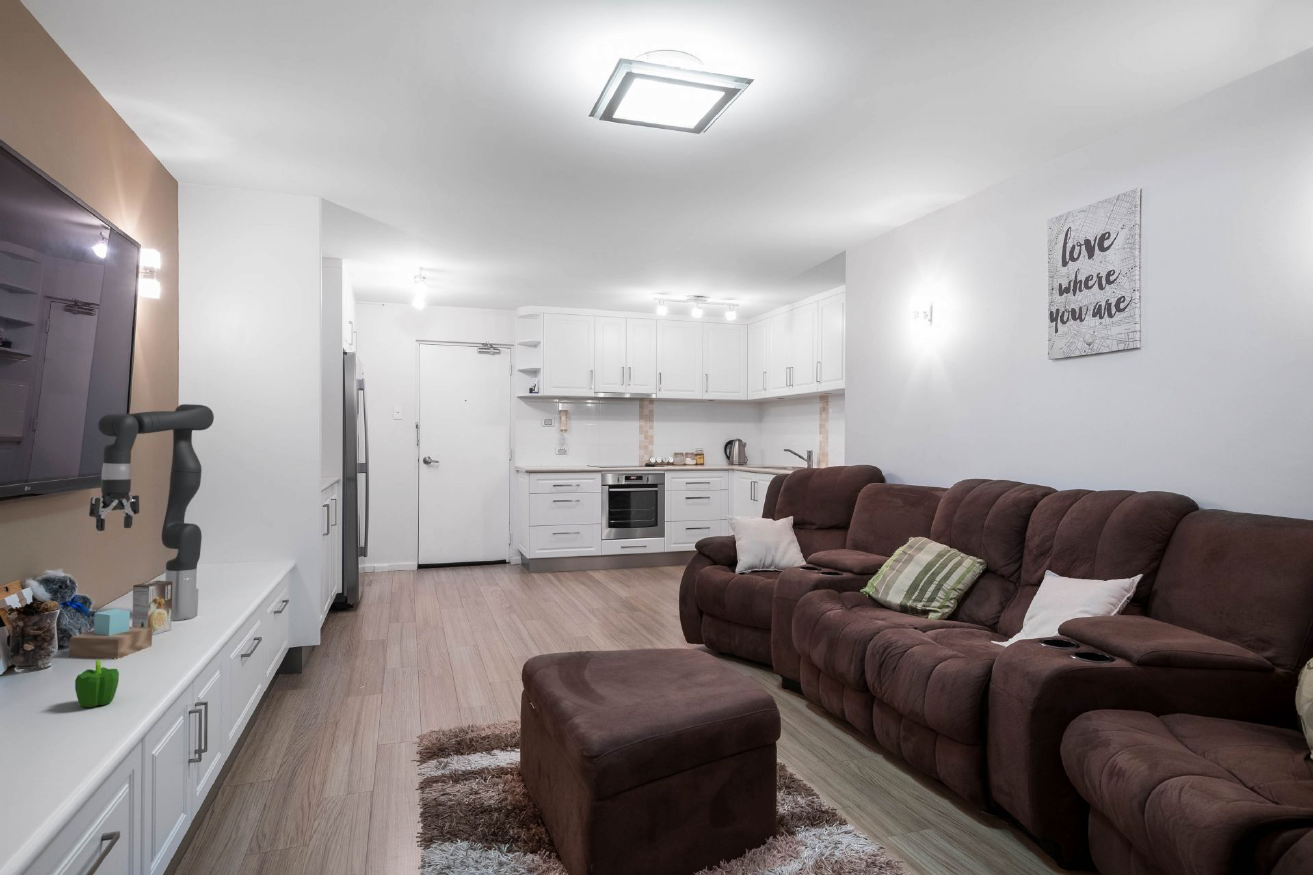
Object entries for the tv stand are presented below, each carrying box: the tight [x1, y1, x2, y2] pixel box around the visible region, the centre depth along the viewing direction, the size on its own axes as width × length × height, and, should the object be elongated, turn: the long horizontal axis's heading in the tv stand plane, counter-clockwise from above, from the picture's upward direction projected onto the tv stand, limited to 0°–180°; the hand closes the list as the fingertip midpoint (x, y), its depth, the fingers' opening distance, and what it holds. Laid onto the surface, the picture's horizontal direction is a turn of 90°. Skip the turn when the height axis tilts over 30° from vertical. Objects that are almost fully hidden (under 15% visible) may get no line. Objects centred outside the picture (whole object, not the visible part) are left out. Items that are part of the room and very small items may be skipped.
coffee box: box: [131, 580, 173, 636], centre depth 241 cm, size 9×6×16 cm
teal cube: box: [93, 608, 131, 636], centre depth 219 cm, size 6×6×6 cm
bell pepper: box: [74, 659, 120, 708], centre depth 177 cm, size 8×8×10 cm
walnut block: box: [68, 626, 153, 660], centre depth 219 cm, size 14×14×6 cm
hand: (114, 529), depth 233 cm, fingers open, 8 cm apart
